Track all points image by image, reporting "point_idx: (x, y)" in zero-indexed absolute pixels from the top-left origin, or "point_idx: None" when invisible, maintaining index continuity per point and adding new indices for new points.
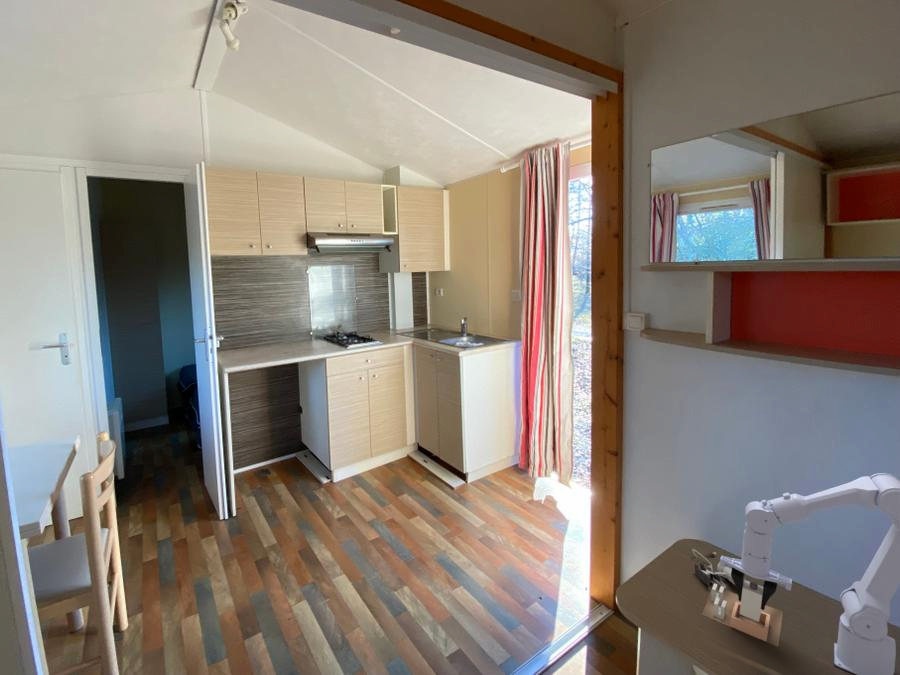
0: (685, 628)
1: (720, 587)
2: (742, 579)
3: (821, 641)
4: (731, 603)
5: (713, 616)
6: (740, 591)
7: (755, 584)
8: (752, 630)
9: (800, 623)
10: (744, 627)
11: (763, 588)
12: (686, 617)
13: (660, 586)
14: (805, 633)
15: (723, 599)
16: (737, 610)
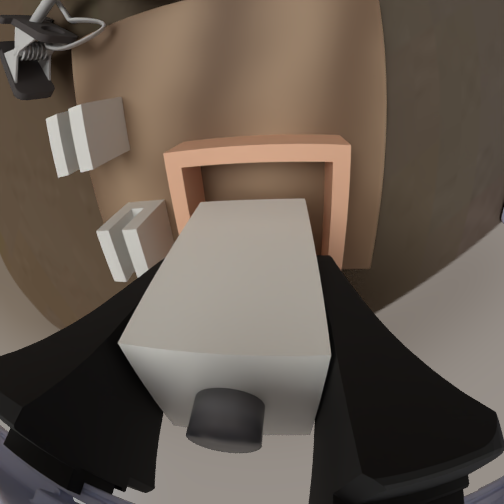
0: None
1: (71, 126)
2: (141, 464)
3: (493, 107)
4: (156, 101)
5: None
6: None
7: (239, 442)
8: None
9: (435, 23)
10: None
11: (310, 502)
12: (103, 280)
13: (9, 194)
14: (455, 83)
15: (123, 102)
16: (193, 179)
